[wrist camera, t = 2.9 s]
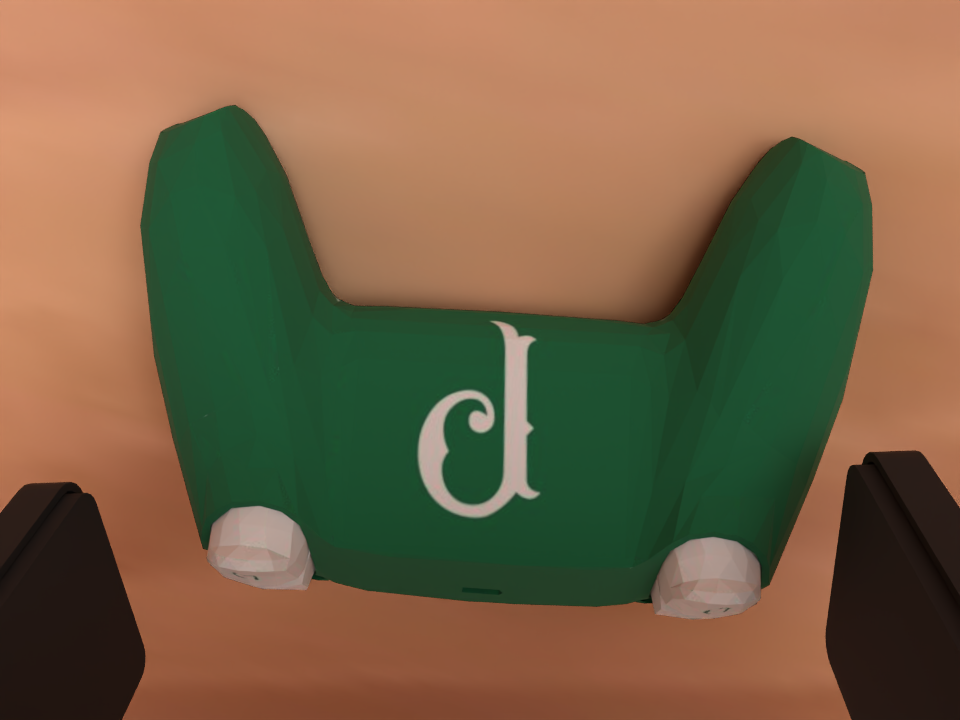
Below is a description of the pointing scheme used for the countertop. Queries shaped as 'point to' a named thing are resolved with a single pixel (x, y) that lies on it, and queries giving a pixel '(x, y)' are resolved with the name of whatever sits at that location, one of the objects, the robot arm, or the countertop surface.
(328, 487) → the gaming controller
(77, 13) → the countertop surface
